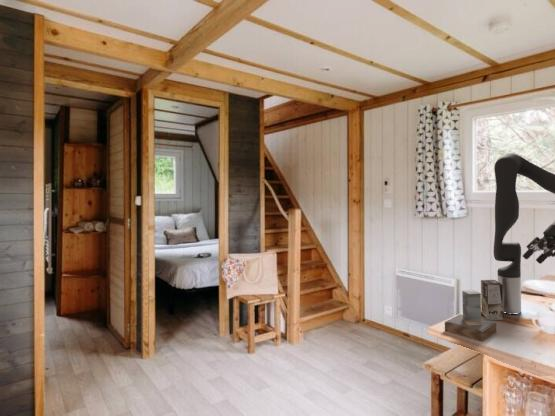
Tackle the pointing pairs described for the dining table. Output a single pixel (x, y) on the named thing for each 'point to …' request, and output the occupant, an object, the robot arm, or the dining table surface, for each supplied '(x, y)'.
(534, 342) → the dining table surface
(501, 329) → the dining table surface
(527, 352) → the dining table surface
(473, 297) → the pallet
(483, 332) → the plate
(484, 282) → the coffee box
